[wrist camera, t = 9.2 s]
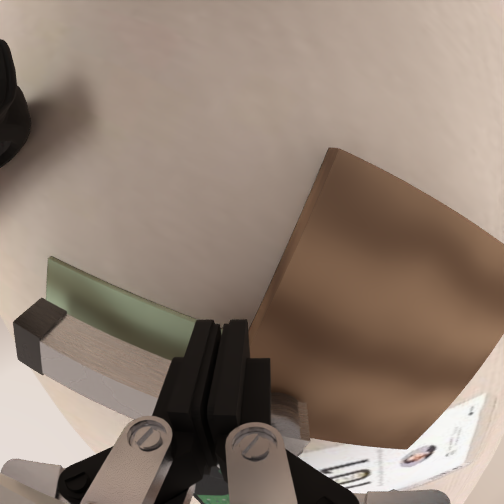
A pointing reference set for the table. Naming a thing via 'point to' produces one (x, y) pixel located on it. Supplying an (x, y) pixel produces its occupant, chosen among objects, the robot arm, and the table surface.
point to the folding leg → (119, 369)
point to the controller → (11, 109)
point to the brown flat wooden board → (347, 307)
